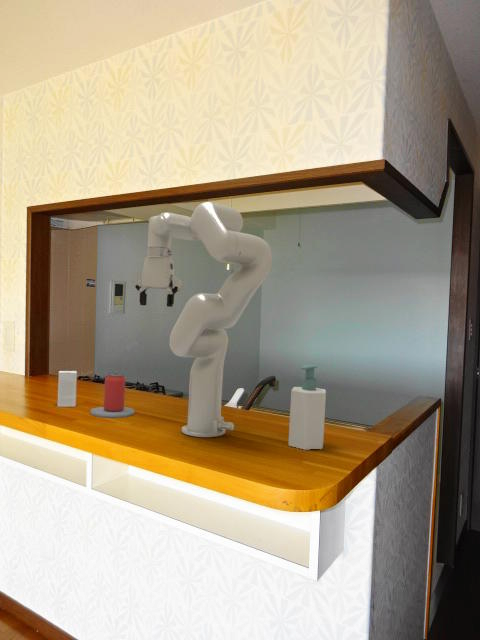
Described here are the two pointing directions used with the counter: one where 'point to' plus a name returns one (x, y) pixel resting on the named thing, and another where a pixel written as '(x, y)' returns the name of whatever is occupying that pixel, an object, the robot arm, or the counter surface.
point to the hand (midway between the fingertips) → (156, 305)
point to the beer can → (114, 392)
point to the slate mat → (112, 413)
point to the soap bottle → (307, 413)
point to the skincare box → (67, 388)
